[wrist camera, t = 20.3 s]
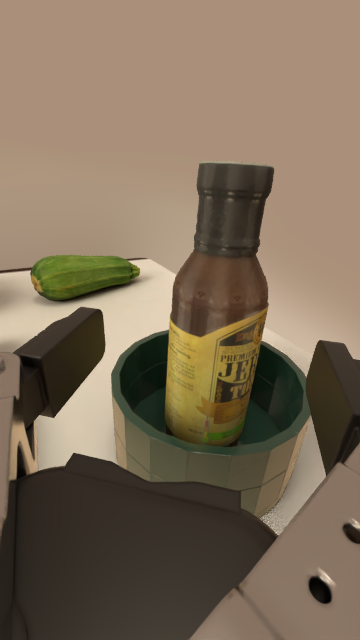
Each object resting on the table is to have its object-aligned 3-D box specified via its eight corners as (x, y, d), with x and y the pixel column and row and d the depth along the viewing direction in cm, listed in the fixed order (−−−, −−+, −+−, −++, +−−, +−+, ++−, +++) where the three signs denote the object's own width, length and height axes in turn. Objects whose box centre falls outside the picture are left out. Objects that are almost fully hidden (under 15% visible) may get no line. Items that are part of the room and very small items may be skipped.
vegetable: (24, 249, 45) (133, 237, 57) (24, 283, 50) (124, 265, 62) (44, 281, 42) (153, 261, 55) (42, 314, 47) (143, 289, 60)
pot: (245, 378, 33) (255, 322, 29) (330, 506, 20) (363, 433, 17) (114, 393, 29) (109, 332, 26) (121, 554, 17) (114, 477, 14)
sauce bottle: (216, 485, 20) (268, 159, 11) (148, 440, 24) (147, 156, 15) (253, 428, 25) (310, 166, 16) (192, 397, 28) (211, 163, 19)
